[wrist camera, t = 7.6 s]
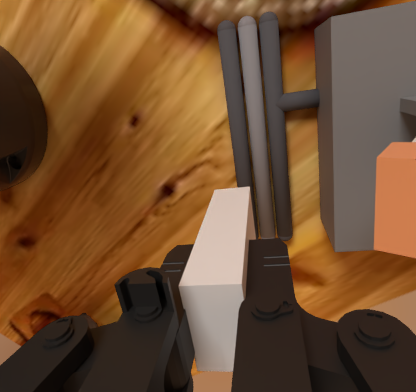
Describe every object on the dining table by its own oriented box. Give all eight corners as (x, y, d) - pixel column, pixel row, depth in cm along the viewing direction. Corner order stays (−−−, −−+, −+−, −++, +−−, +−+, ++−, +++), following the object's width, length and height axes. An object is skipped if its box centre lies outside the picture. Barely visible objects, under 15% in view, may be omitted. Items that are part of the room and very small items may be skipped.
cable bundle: (245, 238, 31) (244, 246, 30) (217, 23, 25) (215, 20, 23) (328, 233, 30) (331, 241, 29) (323, 2, 23) (327, -2, 22)
